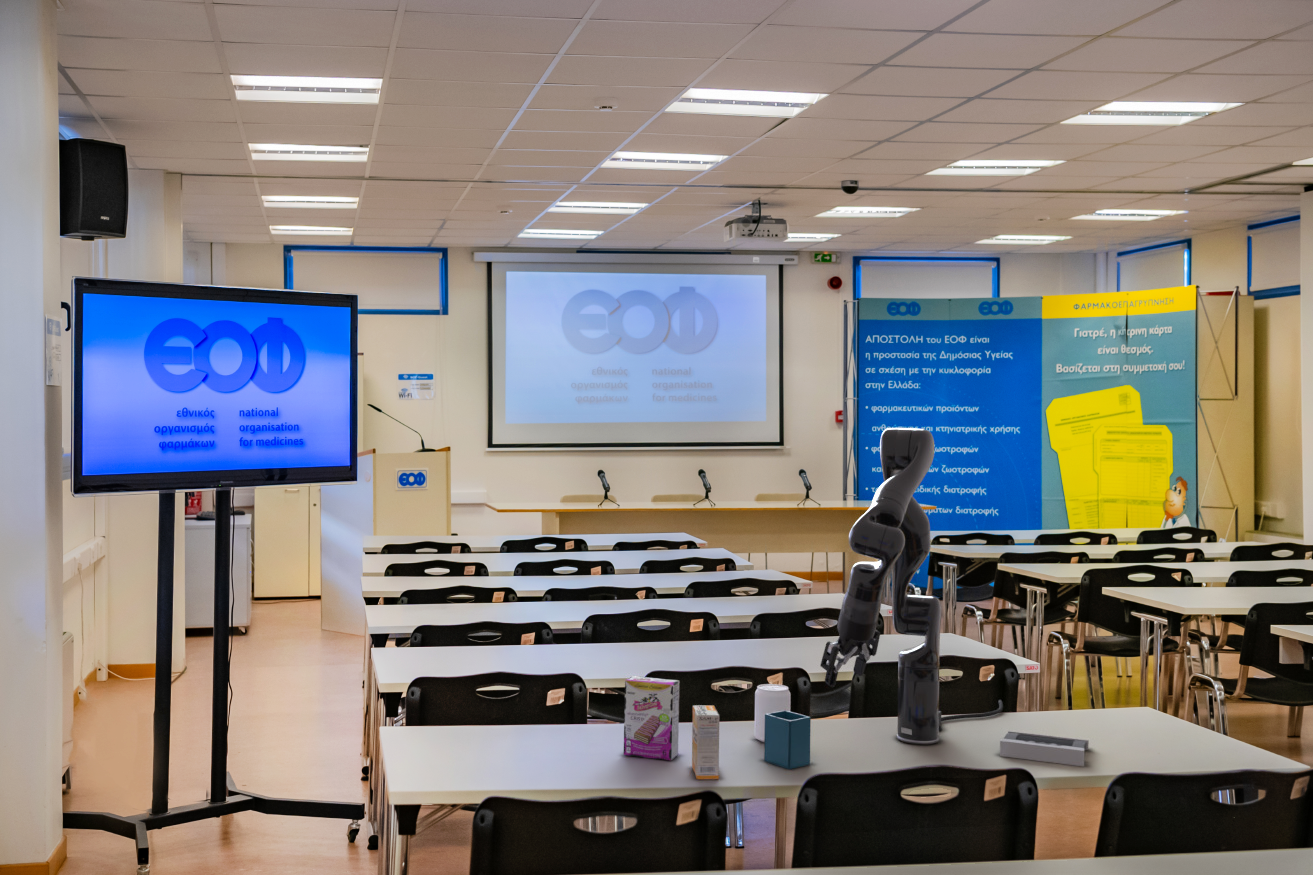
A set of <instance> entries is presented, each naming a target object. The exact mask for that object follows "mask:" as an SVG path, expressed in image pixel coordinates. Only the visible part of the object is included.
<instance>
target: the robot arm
mask: <svg viewBox="0 0 1313 875" xmlns="http://www.w3.org/2000/svg"><path fill="white" fill-rule="evenodd" d="M879 454H880V455H879V456H880V463H881V470H882V476H883V482H882V483H881V484H880V486H879V487H878V488H877V490H876V491H875V493H874V495H873V498H872V500H871V503H870V506H869V508H868V509H867V510H866V511H865V513H864V514H862V515H861V516H860V517H859V518H858V519H857V520H856V521H855V523H854V524H853V525H852V527H851V529H850V531H849V534H848V544H849V547H850V549H851V550H852V551H853V552H854V553H855V554H857V555H861V556H864V557H867V558H872V559H875V560H877V561H858V562H856V563H854V564H853V565H852V567H851V570H850V573H849V579H848V583H847V587H846V591H845V593H844V596H843V599H842V603H841V608H840V611H839V616H838V621H837V625H836V626H837V627H836V628H837V631H838V634H839V636H838V638H837V640H836V642H832V641H829V640H828V641H827V642H826V644H825V646H824V650H823V653H822V657H821V661H820V668H822V669H824V670H825V671H826V673H825V677H824V683H825V685H828V686H829V688H834V687H836V684H837V680H838V676H839V670H840V669H841V668H842V666H845V665H846V664H847V663H848V662H849V660H850V659H852V658H853V657H855V661H854V666H853V670H852V671H853V672H854V674H856V675H857V676H858V677H861V676H863V675H864V673H865V670H866V666H867V664H868V663H867V662H868V661H869V660H870V659H871V656H872V657H875V656H876V655H877V652H878V647H879V642H880V637H881V632H880V631H879V630H878V629H876V628H877V625H878V620H879V616H880V612H881V608H882V599H883V594H884V590H885V587H886V583H887V579H888V577H889V575H890V572H891V617H892V618H891V619H892V625H893V628H894V631H895V632H896V633H897V634H899V635H904V636H919V637H924V641H923V642H922V643H920V644H918V645H916V646H914V647H909V648H906V649H903V650H901V651H900V652H899V653H898V661H897V662H898V666H897V667H898V670H897V671H898V672H897V678H898V679H897V733H896V739H897V740H898V741H901V742H903V743H907V744H911V745H912V744H913V745H934V744H936V743H939V742H940V736H939V734H940V733H939V732H941V731H942V730H943V728H942V722H946V721H951V720H960V719H974V718H977V719H978V718H987V717H991V716H995V715H998V714H1000V713H1002V712H1003V710H1004V703H1003V701H1002V699H998V708H997V709H996V710H992V711H987V712H980V713H965V714H956V715H955V714H954V715H947V716H942V711H941V710H940V645H941V644H940V640H941V625H942V604H941V601H940V599H939V597H937V596H932V595H919V594H908V591H907V590H908V587H909V585H910V582H911V581H912V579H913V577H914V575H915V574H916V572H917V571H918V570H919V569H920V567H921V566H922V565H923V563H924V562H925V560H926V559H927V558H928V555H929V553H930V551H931V547H932V545H931V544H932V542H931V541H932V540H931V526H930V525H931V524H930V519H929V517H928V515H927V513H926V512H925V510H924V509H923V507H922V506H921V505H920V503H919V502H918V501H917V500H916V498H915V497H914V496H913V495H914V494H915V492H916V491H917V489H918V488H919V487H920V485H921V483H922V481H924V479H925V477H926V475H927V474H928V472H929V470H930V468H931V466H932V464H933V460H934V458H935V440H934V435H933V433H932V432H931V431H929V430H927V429H924V428H908V427H907V428H903V427H889V428H885V429H884V430H883V432H882V433H881V436H880V442H879ZM839 654H840V655H841V656H842V658H841V657H840V656H838V655H839ZM836 662H837V663H836ZM835 664H836V665H835Z"/></svg>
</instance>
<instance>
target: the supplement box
mask: <svg viewBox="0 0 1313 875" xmlns="http://www.w3.org/2000/svg"><path fill="white" fill-rule="evenodd" d="M691 727H692V729H691V731H692V733H691V738H692V739H691V768H692V770H693V772H694V775H695V778H696V780H719V778H720V713H719V712H718V710H717V708H716V707H715V705H713V704H712V705H702V704H701V705H700V704H698V705H697V704H696V705H695V704H694V705H692V726H691Z"/></svg>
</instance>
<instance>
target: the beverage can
mask: <svg viewBox="0 0 1313 875" xmlns="http://www.w3.org/2000/svg"><path fill="white" fill-rule="evenodd" d="M789 689H790V688H789V686H787V685H784V684H779V683H764V684H758V685H757V686H756V690H755V692H754V732H753V733H754V735H753V736H754V738H755V739H756V740H758V741H760V742H762V743H764V739H765V714H768V713H774V712H779V711H784V710H786V711H790V712H791V699H792V698H791V692H790V690H789Z"/></svg>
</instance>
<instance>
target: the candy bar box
mask: <svg viewBox="0 0 1313 875" xmlns="http://www.w3.org/2000/svg"><path fill="white" fill-rule="evenodd" d="M680 684H681V682H680V680H678V679H666V678H658V677H647V676H639V675H638V676H636V675H632V676H630V677H628V678H626V679H625V680H624V716H623V723H624V725H623V755H624V756H630V757H639V758H647V759H655V760H663V761H673V760H674V759H675V758H677V756H678V755H679V724H680V723H679V722H680V686H681V685H680Z"/></svg>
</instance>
